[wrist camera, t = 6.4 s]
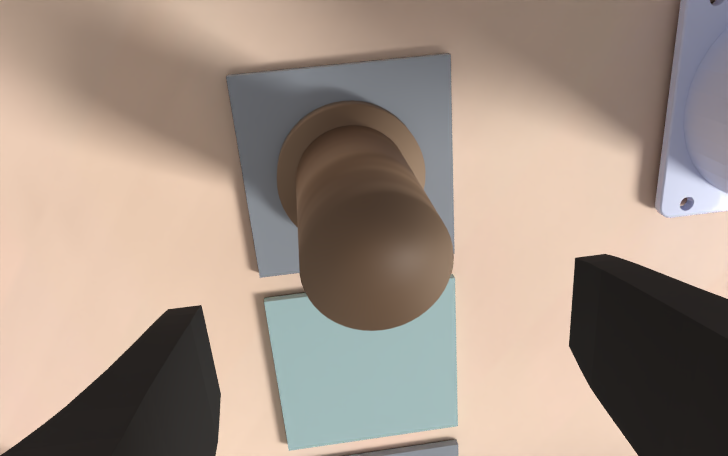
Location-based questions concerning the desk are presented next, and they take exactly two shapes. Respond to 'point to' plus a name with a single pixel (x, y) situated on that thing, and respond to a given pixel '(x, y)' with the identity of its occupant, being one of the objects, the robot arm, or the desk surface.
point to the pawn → (363, 217)
